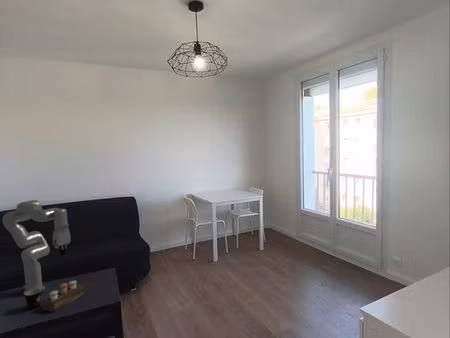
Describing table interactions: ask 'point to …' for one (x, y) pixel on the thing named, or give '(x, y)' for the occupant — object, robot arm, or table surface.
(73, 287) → the cream plug
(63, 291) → the terracotta plug
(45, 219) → the robot arm
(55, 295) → the cream plug
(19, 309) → the table surface
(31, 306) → the coffee mug
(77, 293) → the socket block
